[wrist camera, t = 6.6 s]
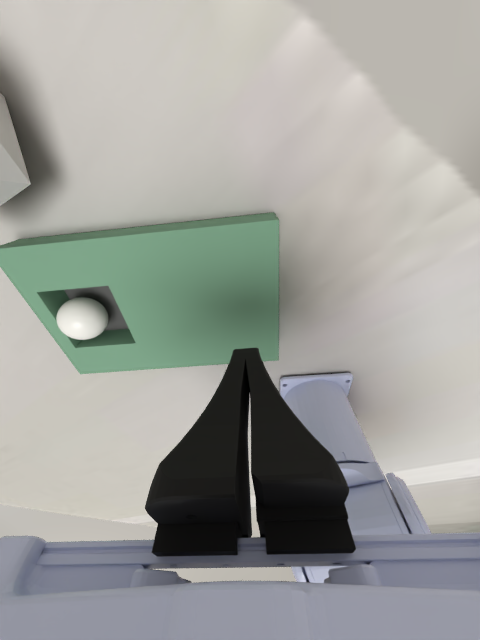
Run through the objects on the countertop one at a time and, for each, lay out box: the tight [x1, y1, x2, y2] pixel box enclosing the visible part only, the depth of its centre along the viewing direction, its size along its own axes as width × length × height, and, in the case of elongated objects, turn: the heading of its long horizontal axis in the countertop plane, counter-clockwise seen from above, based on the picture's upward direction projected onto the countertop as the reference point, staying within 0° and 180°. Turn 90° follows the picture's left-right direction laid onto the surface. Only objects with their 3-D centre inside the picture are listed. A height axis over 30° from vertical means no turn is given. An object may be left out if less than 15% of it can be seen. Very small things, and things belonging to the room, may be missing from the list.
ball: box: [56, 297, 108, 340], centre depth 18 cm, size 4×4×4 cm
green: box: [0, 212, 279, 374], centre depth 19 cm, size 12×19×2 cm, turn 96°
